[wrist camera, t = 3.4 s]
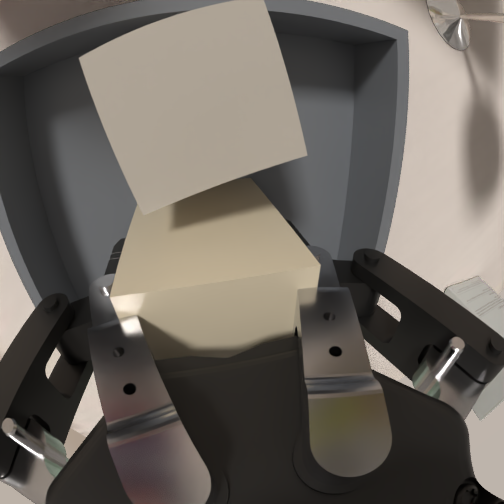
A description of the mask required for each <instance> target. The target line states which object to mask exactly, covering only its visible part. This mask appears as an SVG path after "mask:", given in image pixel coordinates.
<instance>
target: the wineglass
mask: <svg viewBox="0 0 504 504" xmlns="http://www.w3.org/2000/svg"><path fill="white" fill-rule="evenodd" d="M427 5H428V10H429V13H430V15H431V18H432V20H433V23H434V25H435V26H436V28H437V30H438V32H439V33H440V35H441V36H442V37H443V38H444V40H445V41H446V42H447V43H448V44H449V45H450V46H452V47H453V48H455V49H457V50H465V49H466V48H467V47H468V46H469V43H470V39H471V30H470V24H469V20H468V19H471V20H482V21H491V22H499V23H504V14H502V13H469V14H466V12H465V10H464V9H463V7H462V5H461V3H460V2H459V1H458V0H427Z"/></svg>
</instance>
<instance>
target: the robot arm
mask: <svg viewBox="0 0 504 504" xmlns="http://www.w3.org/2000/svg"><path fill="white" fill-rule="evenodd" d="M284 219H285V218H284ZM285 220H286V221H287V223H288V224H289V225H290V226H291V228H292V229H293V230H294V231H295V233H296V234H297V235H298V236H299V238H300V239H301V240H302V242H303V243H304V244H305V245H306V247H307V248H308V249H309V251H310V252H311V253H312V254H313V256H314V257H315V258H316V260H317V261H318V262H319V264H320V265H321V266H320V273H319V280H318V286H317V287H313V288H303V289H298V290H297V299H296V308H295V316H294V324H293V332H292V337H289V338H285V339H280V340H276V341H271V342H266V343H262V344H260V345H258V346H255V347H253V348H251V349H248V350H246V351H244V352H241V353H239V354H237V355H234V356H232V357H228V358H218V357H199V356H185V357H177V358H169V359H161V360H155V358H154V355H153V353H152V351H151V349H150V346H149V344H148V342H147V339H146V337H145V335H144V332H143V330H142V327H141V325H140V322H139V320H138V317H137V315H132V316H127V317H123V318H118V316H117V314H116V311H115V309H114V307H113V304H112V302H111V299H110V293H111V289H112V285H113V281H114V278H115V274H116V270H117V266H118V263H119V259H120V256H121V253H122V249H123V246H124V243H125V239H126V238H122V239H120V240H119V241H118V242H117V243H116V244H115V245H114V247H113V250H112V254H111V256H110V260H109V262H108V265H107V268H106V271H105V274H104V276H102V277H100V278H98V279H97V280H95V281H94V282H93V283H92V284H91V286H90V288H89V296H87V297H85V298H82V299H80V300H77V301H74V302H72V303H70V301H69V299H68V297H67V296H66V295H65V294H62V293H55V294H52V295H49V296H47V297H46V298H44V299H43V300H42V301H41V302H40V303H39V304H38V306H37V307H36V308H35V310H34V311H33V312H32V314H31V315H30V317H29V318H28V319H27V321H26V322H25V324H24V325H23V327H22V328H21V330H20V331H19V333H18V334H17V336H16V337H15V339H14V340H13V342H12V343H11V345H10V346H9V348H8V350H7V351H6V353H5V355H4V356H3V358H2V360H1V361H0V481H2V482H3V483H5V484H7V485H9V486H11V487H13V488H14V489H15V490H17V491H18V492H19V493H21V494H22V495H23V496H25V497H26V498H28V499H29V500H31V501H32V502H34V503H35V504H504V500H502V499H500V498H498V497H496V496H495V495H493V494H491V493H490V492H488V491H487V490H485V489H484V488H483V487H482V486H481V485H480V484H479V483H478V481H477V480H476V478H475V475H474V472H473V467H472V462H471V455H470V445H469V444H470V443H469V433H468V429H467V426H466V423H465V421H464V420H465V419H466V417H467V416H468V414H469V412H470V411H471V409H472V408H473V406H474V404H475V403H476V401H477V399H478V398H479V396H480V394H481V393H482V391H483V390H484V389H485V388H486V387H487V386H488V385H489V384H490V383H491V381H492V380H493V379H494V378H495V377H496V376H497V375H498V373H499V372H500V371H501V370H502V369H503V368H504V338H503V337H502V336H501V335H500V334H498V333H497V332H496V331H494V330H493V329H492V328H491V327H489V326H488V325H487V324H485V323H484V322H483V321H481V320H480V319H479V318H478V317H476V316H475V315H473V314H472V313H471V312H469V311H468V310H467V309H465V308H464V307H463V306H461V305H460V304H458V303H457V302H456V301H454V300H453V299H451V298H450V297H449V296H447V295H446V294H444V293H443V292H441V291H440V290H439V289H437V288H436V287H434V286H433V285H431V284H430V283H428V282H427V281H425V280H424V279H422V278H421V277H419V276H418V275H416V274H415V273H413V272H412V271H410V270H409V269H407V268H406V267H404V266H403V265H401V264H399V263H398V262H396V261H395V260H393V259H392V258H390V257H388V256H387V255H385V254H384V253H382V252H380V251H378V250H375V249H369V248H362V249H358V250H356V251H355V252H354V254H353V259H352V261H348V260H333V259H332V257H331V255H330V253H329V252H328V251H326V250H325V249H323V248H320V247H317V246H310V244H309V243H308V242H307V241H306V239H305V238H304V237H303V236H302V234H301V233H299V231H298V230H297V228H296V227H295V226H294V225H293V223H292V222H291V221H289V220H287V219H285ZM380 294H381V295H382V296H383V297H385V298H386V299H387V300H389V301H390V302H392V303H393V304H394V305H396V306H397V307H398V309H399V310H400V312H401V320H400V322H399V321H397V320H396V319H395V318H393V317H392V316H391V315H390V314H388V313H387V312H386V311H385V310H383V309H382V308H381V307H379V306H378V305H377V303H378V300H379V297H380ZM363 338H364V339H365V340H366V341H367V342H368V343H369V344H370V345H372V346H373V347H374V348H375V349H376V350H377V351H378V352H379V353H381V354H382V355H383V356H384V357H385V358H386V359H387V360H389V361H390V362H391V363H392V364H393V365H394V366H395V367H396V368H398V369H399V370H400V371H401V372H402V373H403V374H404V375H405V376H407V377H408V378H409V379H410V380H411V381H412V382H413V386H414V388H415V389H413V388H411V387H409V386H406V385H404V384H402V383H400V382H398V381H396V380H393V379H391V378H389V377H387V376H385V375H383V374H381V373H379V372H376V371H374V370H372V369H371V366H370V362H369V358H368V354H367V350H366V346H365V342H364V339H363ZM55 348H57V349H58V351H59V352H60V354H61V356H60V358H59V359H58V361H57V363H56V365H55V367H54V369H53V371H52V373H51V375H50V377H49V379H48V378H47V377H46V373H45V368H46V364H47V362H48V360H49V358H50V357H51V355H52V353H53V351H54V349H55ZM93 371H94V376H95V380H96V385H97V390H98V394H99V398H100V402H101V406H102V410H103V413H104V416H103V417H102V418H101V420H100V421H99V422H98V423H97V425H96V426H95V427H94V428H93V430H92V431H91V432H90V434H89V435H88V436H87V437H86V439H85V440H84V441H83V443H82V444H81V445H80V446H79V448H78V449H77V450H76V451H75V453H74V454H73V456H72V457H71V458H70V459H68V458H67V457H66V451H65V447H64V443H65V440H66V438H67V435H68V432H69V429H70V426H71V424H72V421H73V418H74V416H75V413H76V411H77V408H78V406H79V403H80V401H81V398H82V396H83V393H84V391H85V389H86V386H87V384H88V382H89V379H90V377H91V375H92V372H93Z"/></svg>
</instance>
